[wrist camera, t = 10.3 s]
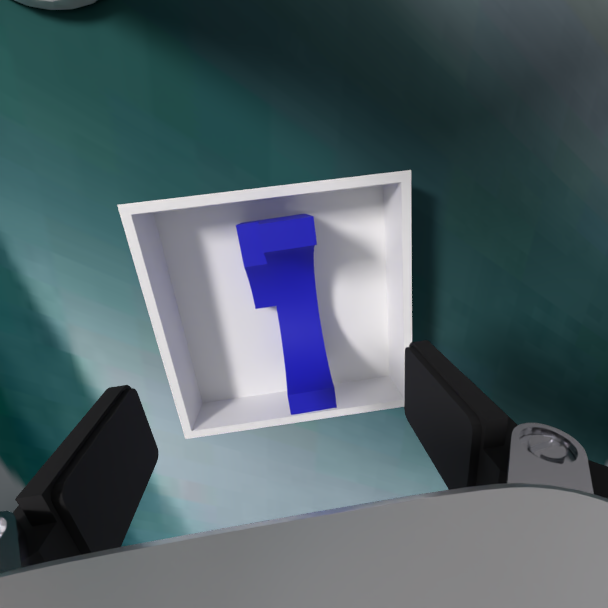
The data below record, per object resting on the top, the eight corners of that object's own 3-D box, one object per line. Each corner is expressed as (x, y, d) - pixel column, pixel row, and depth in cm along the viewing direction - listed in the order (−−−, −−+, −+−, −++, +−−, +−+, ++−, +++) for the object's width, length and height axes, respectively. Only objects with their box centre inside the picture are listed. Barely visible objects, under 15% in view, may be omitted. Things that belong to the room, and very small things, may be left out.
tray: (146, 205, 21) (117, 205, 18) (388, 176, 22) (411, 169, 18) (198, 405, 27) (185, 438, 23) (393, 377, 27) (412, 405, 23)
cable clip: (241, 222, 22) (227, 228, 16) (304, 213, 22) (313, 216, 16) (270, 371, 25) (267, 419, 20) (323, 362, 26) (336, 407, 20)
